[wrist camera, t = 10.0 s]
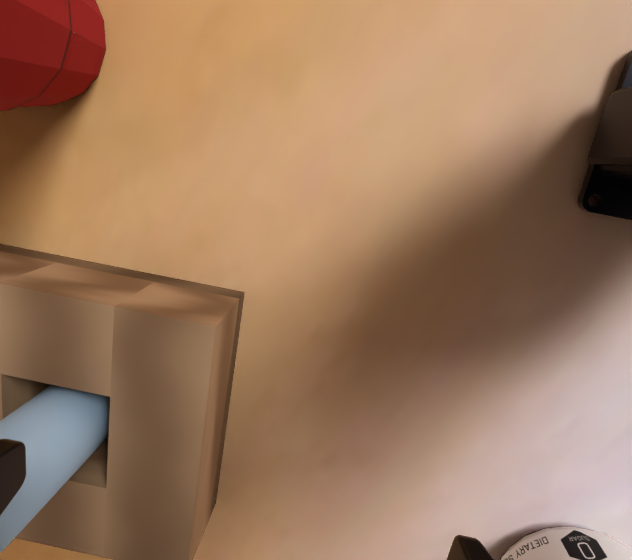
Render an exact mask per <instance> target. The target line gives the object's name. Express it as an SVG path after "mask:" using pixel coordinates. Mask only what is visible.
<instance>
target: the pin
mask: <svg viewBox="0 0 632 560" xmlns="http://www.w3.org/2000/svg"><path fill="white" fill-rule="evenodd" d="M109 413H110V397H109V396H104V395H99V394H94V393H90V392H85V391H80V390H75V389H71V388H66V387H61V386H56V385H50V386H49V387H47V388H46V389H44V390H43V391H42V392H40V393H39V394H37V395H36V396H35V397H33V398H32V399H30V400H29V401H28V402H26V403H25V404H23V405H22V406H21V407H19V408H18V409H16V410H15V411H13V412H12V413H11V414H9V415H8V416H6V417H5V418H4V419H2V420H1V421H0V439H11V440H16V441H20V442H22V443H24V445H25V447H26V477H25V480H24V483H23V485H22V486H21V488H20V489H19V491H18V492H17V494H16V495H15V496H14V498H13V499H12V500H11V502H10V503H9V505H8V506H7V507H6V509H5V510H4V511H3V513H2V514H1V516H0V552H1V551H3V550H4V549H5V548H6V547H7V546H8V545H9V544H10V543H11V541H12V540H13V539H14V538H15V537H16V536H17V535H18V534H19V533H20V532H21V531H22V530H23V528H24V527H25V526H26V525H27V524H28V523H29V522H30V521H31V520H32V519H33V518H34V517H35V515H36V514H37V513H38V512H39V511H40V510H41V509H42V508H43V507H44V506H45V505H46V504H47V502H48V501H49V500H50V499H51V498H52V497H53V496H54V495H55V494H56V493H57V492H58V491H59V489H60V488H61V487H62V486H63V485H64V484H65V483H66V482H67V481H68V480H69V479H70V478H71V476H72V475H73V474H74V473H75V472H76V471H77V470H78V469H79V468H80V467H81V466H82V465H83V463H84V462H85V461H86V460H87V459H88V458H89V457H90V456H91V455H92V454H93V453H94V452H95V450H96V449H97V448H98V447H99V446H100V445H101V444H102V443H103V442H104V441H105V440H106V439H107V437H108V436H109Z"/></svg>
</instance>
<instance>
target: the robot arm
mask: <svg viewBox="0 0 632 560" xmlns="http://www.w3.org/2000/svg"><path fill="white" fill-rule="evenodd" d="M588 158H589V161H590V165H589V168H588V170H587V173H586V176H585V179H584V182H583V185H582V188H581V190H580V193H579V196H578V201H577V202H578V206H579V207H580V208H581V209H582V210H584V211H588V212H592V213H598V214H603V215H609V216H614V217H619V218H625V219H630V220H632V51H631V52H630V53H629V55H628V57H627V59H626V62H625V65H624V68H623V71H622V74H621V77H620V79H619V82H618V85H617V88H616V91H615V92H614V93H612V94H611V95H610V96H609V98H608V101H607V103H606V106H605V109H604V112H603V115H602V118H601V121H600V124H599V126H598V129H597V132H596V135H595V138H594V141H593V144H592V147H591V149H590V152H589V155H588ZM592 195H595V196H596V201H595V203H594V204H592V205H590V204H589V203H588V201H589V198H590V196H592ZM25 477H26V447H25V445H24V443H22V442H20V441H16V440H11V439H0V516H1V514H2V513H3V511H4V510H5V509H6V507H7V506H8V505H9V503H10V502H11V500H12V499H13V498H14V496H15V495H16V494H17V492H18V491H19V489H20V488H21V486H22V485H23V483H24V480H25ZM447 560H494V558H493V557H492V556H491V555H490V553H489V552H488V551H487V550H486V548H485V547H484V546H483V545H482V544H481V542H480V541H479V540H477V539H475V538H472V537H467V536H462V535H457V536H456V537H455V538H454V540H453V543H452V546H451V549H450V552H449V555H448V558H447Z"/></svg>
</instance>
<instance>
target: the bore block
mask: <svg viewBox="0 0 632 560" xmlns="http://www.w3.org/2000/svg"><path fill="white" fill-rule="evenodd" d="M243 300H244V292H240V291H235V290H230V289H225V288H220V287H215V286H210V285H205V284H200V283H195V282H190V281H185V280H180V279H175V278H169V277H164V276H159V275H154V274H149V273H144V272H139V271H134V270H129V269H124V268H119V267H114V266H109V265H104V264H99V263H94V262H89V261H84V260H79V259H73V258H68V257H63V256H58V255H53V254H48V253H43V252H38V251H33V250H28V249H23V248H18V247H13V246H8V245H3V244H0V421H1V420H2V419H4V418H5V417H6V416H8V415H9V414H11V413H12V412H13V411H15V410H16V409H18V408H19V407H21V406H22V405H23V404H25V403H26V402H28V401H29V400H30V399H32V398H33V397H35V396H36V395H37V394H39V393H40V392H42V391H43V390H44V389H46V388H47V387H49V386H50V385H56V386H61V387H66V388H71V389H75V390H80V391H85V392H90V393H94V394H99V395H104V396H109V397H110V413H109V436H108V437H107V439H106V440H105V441H104V442H103V443H102V444H101V445H100V446H99V447H98V448H97V449H96V450H95V452H94V453H93V454H92V455H91V456H90V457H89V458H88V459H87V460H86V461H85V462H84V463H83V465H82V466H81V467H80V468H79V469H78V470H77V471H76V472H75V473H74V474H73V475H72V476H71V478H70V479H69V480H68V481H67V482H66V483H65V484H64V485H63V486H62V487H61V488H60V489H59V491H58V492H57V493H56V494H55V495H54V496H53V497H52V498H51V499H50V500H49V501H48V502H47V504H46V505H45V506H44V507H43V508H42V509H41V510H40V511H39V512H38V513H37V514H36V515H35V517H34V518H33V519H32V520H31V521H30V522H29V523H28V524H27V525H26V526H25V527H24V528H23V530H22V531H21V532H20V533H19V534H18V535H17V536H16V537H15V538H18V539H23V540H27V541H32V542H36V543H41V544H45V545H50V546H54V547H59V548H63V549H68V550H72V551H77V552H81V553H86V554H90V555H95V556H99V557H104V558H108V559H113V560H193V558H194V555H195V553H196V550H197V548H198V545H199V543H200V540H201V538H202V536H203V533H204V531H205V528H206V526H207V523H208V521H209V518H210V516H211V513H212V511H213V508H214V506H215V503H216V498H217V491H218V483H219V476H220V469H221V461H222V454H223V447H224V439H225V432H226V425H227V417H228V410H229V403H230V395H231V388H232V381H233V373H234V366H235V359H236V351H237V344H238V337H239V329H240V322H241V315H242V307H243Z"/></svg>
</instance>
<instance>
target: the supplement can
mask: <svg viewBox="0 0 632 560" xmlns="http://www.w3.org/2000/svg"><path fill="white" fill-rule="evenodd" d="M501 560H632V549H631V548H630V547H629V545H627V544H625V543H623V542H621V541H619V540H617V539H615V538H613V537H612V536H610V535H608V534H606V533H601V532H595V531H593V530H588V529H582V528H577V527H571V526H566V527H555V528H545V529H543V530H540V531H537V532H535V533H532V534H529V535H527V536H524V537H523V538H522V539H520V540H519V541H518V542H516V543H515V544H514V545H513V546H511V547H510V548H509V549H508V550H507V551H506V553H505V555H503V557H502V558H501Z"/></svg>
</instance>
